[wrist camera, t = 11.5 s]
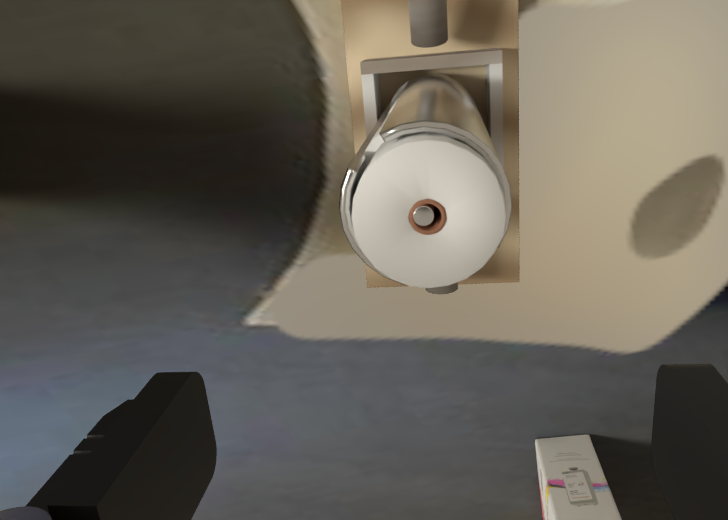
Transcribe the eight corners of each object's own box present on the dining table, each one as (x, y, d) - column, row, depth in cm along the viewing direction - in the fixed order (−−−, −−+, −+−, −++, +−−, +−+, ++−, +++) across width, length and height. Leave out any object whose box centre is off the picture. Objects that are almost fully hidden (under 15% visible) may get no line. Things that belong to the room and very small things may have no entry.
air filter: (464, 60, 45) (491, 101, 21) (486, 149, 47) (533, 276, 23) (376, 88, 46) (310, 154, 23) (401, 173, 48) (364, 315, 25)
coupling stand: (517, 274, 51) (530, 316, 44) (369, 280, 53) (357, 321, 45) (515, -88, 42) (530, -112, 35) (337, -69, 44) (317, -87, 37)
